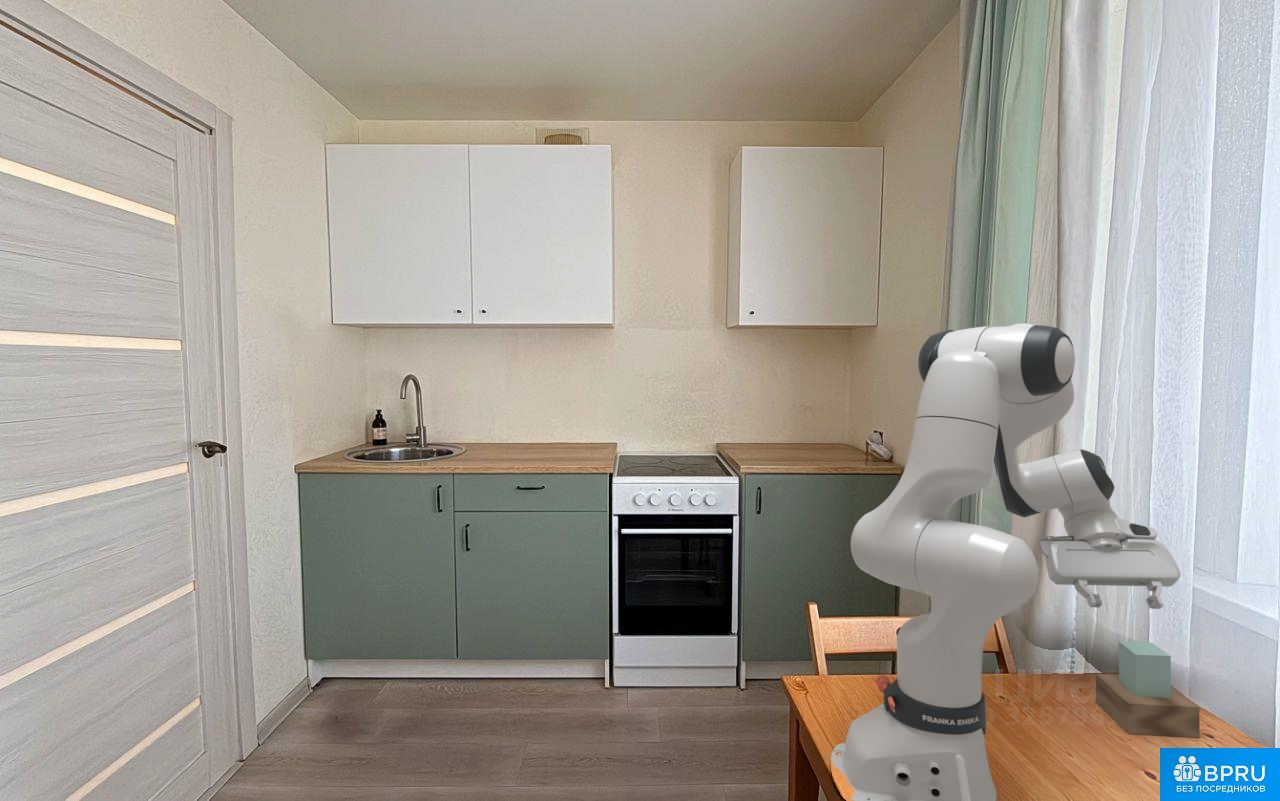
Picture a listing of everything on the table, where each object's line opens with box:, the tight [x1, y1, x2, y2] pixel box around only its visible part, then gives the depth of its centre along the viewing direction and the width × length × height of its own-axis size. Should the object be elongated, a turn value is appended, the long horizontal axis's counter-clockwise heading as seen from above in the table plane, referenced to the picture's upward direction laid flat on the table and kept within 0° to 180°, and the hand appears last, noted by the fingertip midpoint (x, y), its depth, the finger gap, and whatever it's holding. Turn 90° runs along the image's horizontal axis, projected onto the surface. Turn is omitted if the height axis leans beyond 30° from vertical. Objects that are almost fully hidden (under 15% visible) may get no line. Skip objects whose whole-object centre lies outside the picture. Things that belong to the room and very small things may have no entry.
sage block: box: [1118, 641, 1172, 698], centre depth 106 cm, size 5×5×7 cm
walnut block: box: [1095, 673, 1200, 738], centre depth 106 cm, size 10×10×5 cm
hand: (1126, 606), depth 111 cm, fingers open, 8 cm apart
